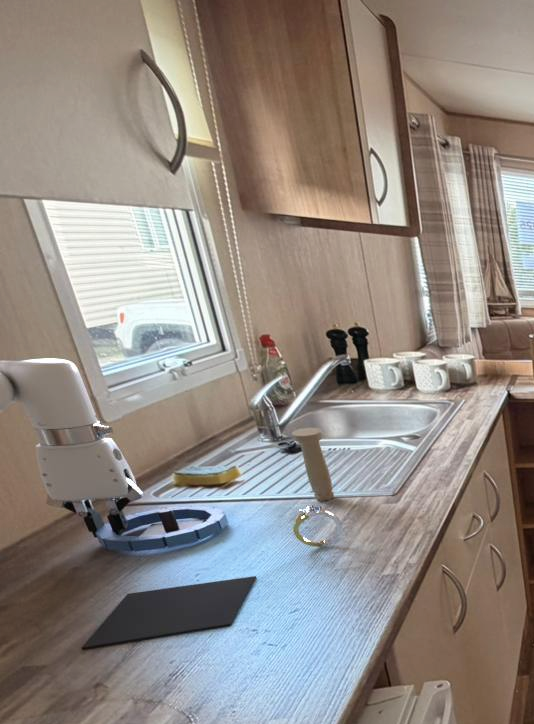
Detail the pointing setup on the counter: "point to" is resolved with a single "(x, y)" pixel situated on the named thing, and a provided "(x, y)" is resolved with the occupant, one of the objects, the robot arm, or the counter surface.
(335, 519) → the ring
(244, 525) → the counter surface
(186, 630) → the mat
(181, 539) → the ring
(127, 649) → the counter surface
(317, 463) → the handle
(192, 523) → the dowel stand
